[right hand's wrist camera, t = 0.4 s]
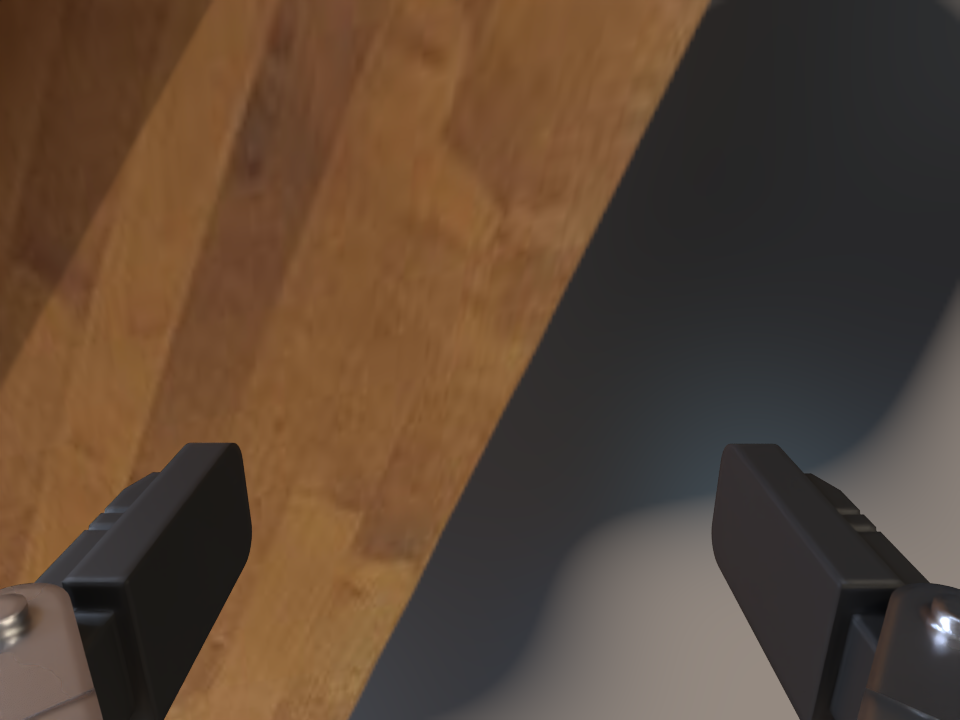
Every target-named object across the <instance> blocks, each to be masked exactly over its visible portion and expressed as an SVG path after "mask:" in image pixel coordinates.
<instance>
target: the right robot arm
mask: <svg viewBox="0 0 960 720" xmlns="http://www.w3.org/2000/svg"><path fill="white" fill-rule="evenodd" d="M251 539H252V525H251V517H250V509H249V502H248V495H247V488H246V480H245V473H244V466H243V459H242V454H241V450H240V448H239V446H238V445H237V444H236V443H188V444H186V445H185V446H184V447H183V448H182V449H181V450H180V451H179V452H178V453H177V455H176V456H175V457H174V458H173V459H172V460H171V461H170V462H169V463H168V465H167V466H166V467H165V468H164V469H163V470H162V471H161V472H153V473H151V474H149V475H148V476H146V477H144V478H142V479H141V480H139V481H137V482H136V483H134V484H132V485H130V486H129V487H127V488H125V489H124V490H123V491H122V492H121V493H120V494H119V495H118V496H117V497H116V498H115V499H114V500H113V501H112V502H111V503H110V504H109V505H108V506H107V507H106V508H105V513H101V514H100V515H99V516H98V517H97V518H96V519H95V520H94V521H93V522H92V523H91V524H90V525H89V530H84V531H83V532H82V534H81V535H80V536H79V537H78V538H77V539H76V540H75V541H74V542H73V543H72V544H71V545H70V546H69V547H68V548H67V549H66V550H65V551H64V552H63V553H62V554H61V555H60V556H59V558H58V559H57V560H56V561H55V562H54V563H53V564H52V565H51V566H50V567H49V568H48V569H47V570H46V571H45V572H44V573H43V574H42V575H41V576H40V577H39V578H38V579H37V581H36V582H35V583H28V584H20V585H15V586H10V587H7V588H3V589H0V720H164V718H165V716H166V715H167V713H168V711H169V709H170V707H171V705H172V703H173V701H174V699H175V697H176V696H177V694H178V692H179V690H180V688H181V686H182V684H183V682H184V680H185V678H186V676H187V675H188V673H189V671H190V669H191V667H192V665H193V663H194V661H195V659H196V657H197V656H198V654H199V652H200V650H201V648H202V646H203V644H204V642H205V640H206V638H207V636H208V635H209V633H210V631H211V629H212V627H213V625H214V623H215V621H216V619H217V617H218V616H219V614H220V612H221V610H222V608H223V606H224V604H225V602H226V600H227V598H228V596H229V595H230V593H231V591H232V589H233V587H234V585H235V583H236V581H237V579H238V577H239V576H240V574H241V572H242V570H243V568H244V566H245V564H246V562H247V559H248V556H249V552H250V547H251ZM712 545H713V551H714V555H715V559H716V561H717V564H718V566H719V568H720V570H721V572H722V574H723V576H724V577H725V579H726V581H727V583H728V585H729V587H730V589H731V591H732V592H733V594H734V596H735V598H736V600H737V602H738V604H739V606H740V608H741V609H742V611H743V613H744V615H745V617H746V619H747V621H748V623H749V625H750V626H751V628H752V630H753V632H754V634H755V636H756V638H757V640H758V641H759V643H760V645H761V647H762V649H763V651H764V653H765V655H766V656H767V658H768V660H769V662H770V664H771V666H772V668H773V670H774V672H775V673H776V675H777V677H778V679H779V681H780V683H781V685H782V687H783V688H784V690H785V692H786V694H787V696H788V698H789V700H790V702H791V704H792V705H793V707H794V709H795V711H796V713H797V715H798V717H799V719H800V720H960V589H957V588H953V587H950V586H945V585H940V584H932V583H929V582H928V580H927V579H926V578H925V577H924V576H923V575H922V574H921V573H920V572H919V571H918V570H917V569H916V568H915V567H914V566H913V565H912V564H911V563H910V562H909V561H908V560H907V559H906V558H905V557H904V556H903V555H902V554H901V553H900V552H899V550H898V549H897V548H896V547H895V546H894V545H893V544H892V543H891V542H890V541H889V540H888V539H887V538H886V537H885V536H884V535H883V534H882V533H881V532H877V531H876V527H875V526H874V525H873V524H872V523H871V522H870V520H869V519H868V518H867V517H866V516H865V515H860V510H859V509H858V508H857V507H856V506H855V505H854V504H853V503H852V502H851V501H850V500H849V499H848V498H847V497H846V496H845V495H844V494H843V493H842V492H841V491H840V490H839V489H837V488H835V487H834V486H832V485H830V484H828V483H827V482H825V481H823V480H821V479H820V478H818V477H816V476H815V475H813V474H804V473H803V472H802V471H801V470H800V469H799V468H798V466H797V465H796V464H795V463H794V462H793V461H792V460H791V459H790V458H789V457H788V456H787V454H786V453H785V452H784V451H783V450H782V449H781V448H780V447H779V446H778V445H776V444H728V445H727V446H726V447H725V449H724V451H723V454H722V458H721V464H720V471H719V479H718V486H717V493H716V500H715V507H714V514H713V522H712Z"/></svg>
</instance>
